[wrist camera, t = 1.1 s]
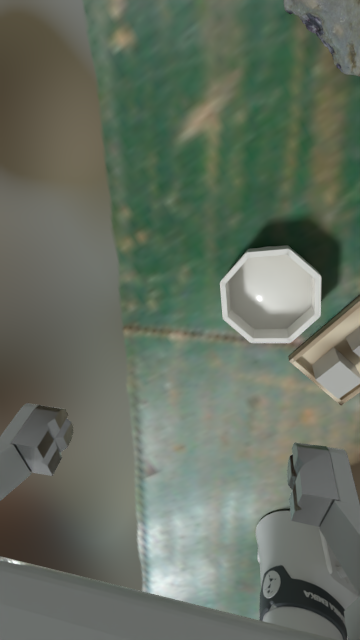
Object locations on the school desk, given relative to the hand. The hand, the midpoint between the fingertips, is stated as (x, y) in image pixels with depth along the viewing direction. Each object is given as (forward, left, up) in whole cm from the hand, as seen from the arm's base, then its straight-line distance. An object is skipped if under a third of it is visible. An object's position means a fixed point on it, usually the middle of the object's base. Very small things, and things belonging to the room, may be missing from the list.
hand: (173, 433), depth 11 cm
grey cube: (-19, +3, -36) cm, 41 cm away
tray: (-19, 0, -36) cm, 41 cm away
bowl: (-5, +1, -37) cm, 37 cm away
